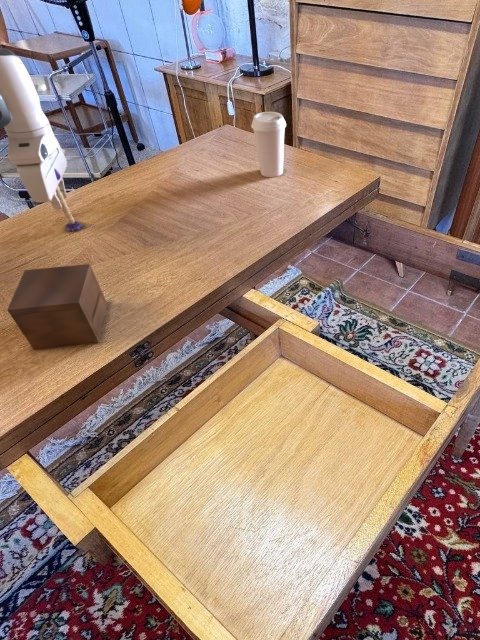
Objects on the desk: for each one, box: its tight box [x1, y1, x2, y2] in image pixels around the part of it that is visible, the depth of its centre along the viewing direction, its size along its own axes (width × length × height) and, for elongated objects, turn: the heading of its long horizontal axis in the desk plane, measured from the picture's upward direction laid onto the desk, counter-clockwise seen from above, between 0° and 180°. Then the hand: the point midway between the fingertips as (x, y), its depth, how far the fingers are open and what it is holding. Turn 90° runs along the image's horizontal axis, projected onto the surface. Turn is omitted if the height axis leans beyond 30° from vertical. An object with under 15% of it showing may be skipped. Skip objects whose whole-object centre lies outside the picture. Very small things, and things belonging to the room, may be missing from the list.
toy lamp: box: [51, 164, 83, 233], centre depth 105 cm, size 5×5×17 cm
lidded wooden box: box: [6, 263, 108, 350], centre depth 84 cm, size 12×12×10 cm
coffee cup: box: [250, 111, 287, 178], centre depth 125 cm, size 10×10×15 cm
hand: (61, 202), depth 106 cm, fingers closed on toy lamp, 4 cm apart
